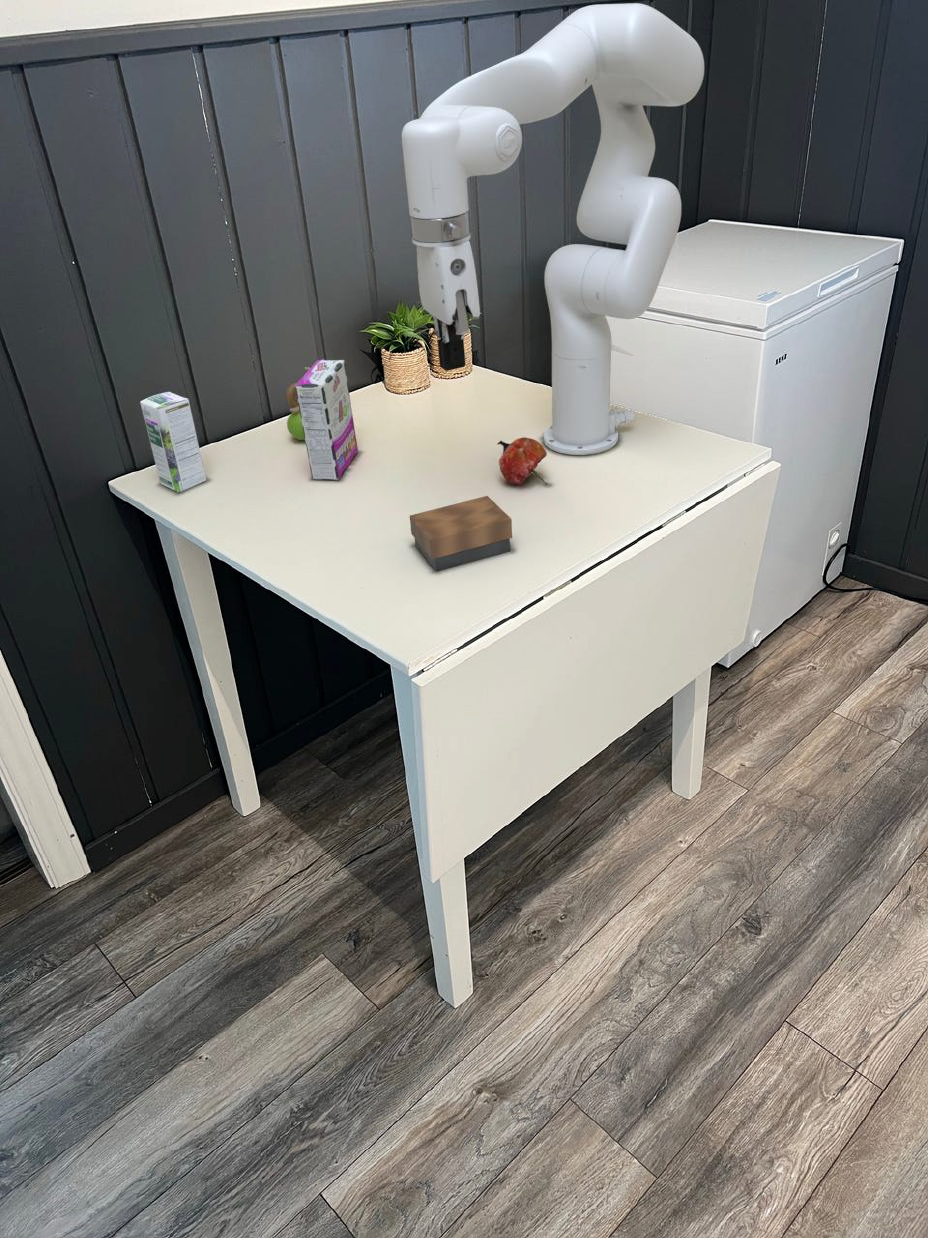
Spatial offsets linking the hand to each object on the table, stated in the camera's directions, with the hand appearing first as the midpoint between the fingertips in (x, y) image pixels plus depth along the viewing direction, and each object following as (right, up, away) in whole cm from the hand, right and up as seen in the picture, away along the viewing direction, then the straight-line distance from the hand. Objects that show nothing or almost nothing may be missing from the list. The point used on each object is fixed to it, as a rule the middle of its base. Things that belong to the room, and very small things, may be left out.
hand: (452, 366), depth 131 cm
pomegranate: (+11, -13, +19) cm, 26 cm away
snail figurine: (-27, -3, +38) cm, 47 cm away
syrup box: (-45, -12, +26) cm, 53 cm away
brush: (0, -21, +4) cm, 21 cm away
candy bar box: (-20, -9, +28) cm, 35 cm away
